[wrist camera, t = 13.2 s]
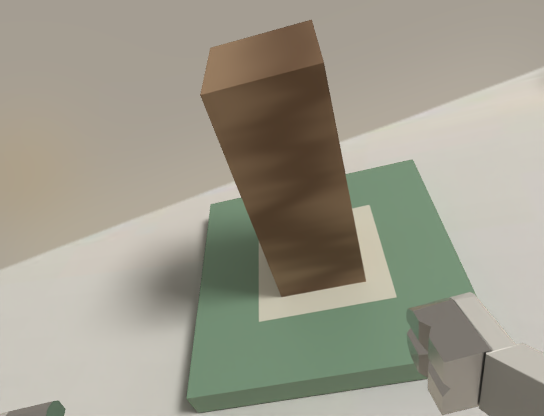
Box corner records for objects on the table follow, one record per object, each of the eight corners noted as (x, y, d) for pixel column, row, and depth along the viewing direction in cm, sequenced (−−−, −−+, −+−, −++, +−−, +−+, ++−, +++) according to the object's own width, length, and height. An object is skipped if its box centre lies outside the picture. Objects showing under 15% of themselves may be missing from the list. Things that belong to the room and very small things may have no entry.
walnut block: (281, 297, 24) (200, 94, 16) (278, 237, 27) (210, 47, 19) (366, 281, 23) (323, 62, 15) (352, 222, 26) (311, 19, 19)
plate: (198, 412, 22) (186, 398, 21) (217, 219, 32) (210, 204, 31) (499, 367, 19) (501, 349, 19) (413, 176, 30) (412, 159, 29)
